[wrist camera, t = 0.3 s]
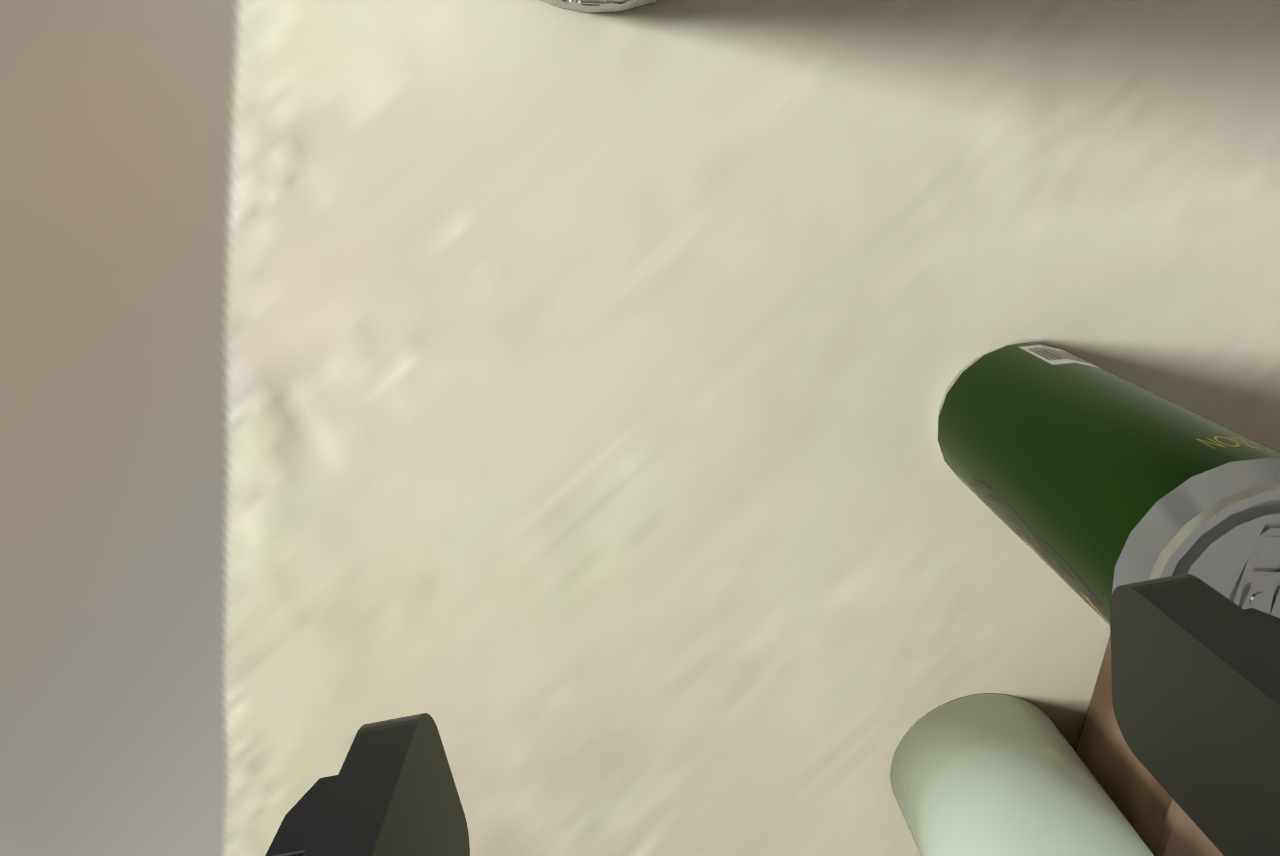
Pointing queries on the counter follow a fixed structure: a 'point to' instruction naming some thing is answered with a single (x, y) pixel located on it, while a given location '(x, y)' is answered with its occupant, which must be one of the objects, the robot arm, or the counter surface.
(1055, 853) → the pale green capsule
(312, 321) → the counter surface
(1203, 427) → the beer can
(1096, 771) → the podium
